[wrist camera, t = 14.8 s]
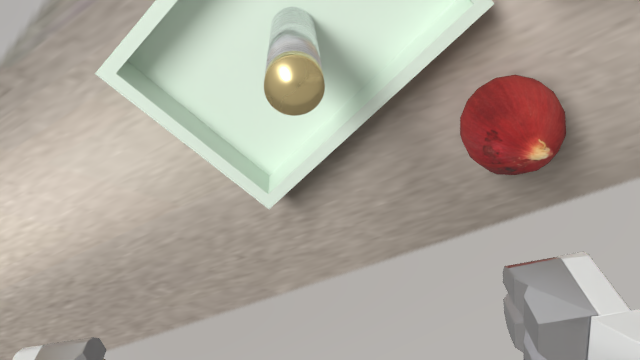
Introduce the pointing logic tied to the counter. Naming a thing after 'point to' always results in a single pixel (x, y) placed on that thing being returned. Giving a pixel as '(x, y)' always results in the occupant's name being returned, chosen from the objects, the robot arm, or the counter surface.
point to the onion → (513, 125)
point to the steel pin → (293, 63)
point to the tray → (249, 73)
